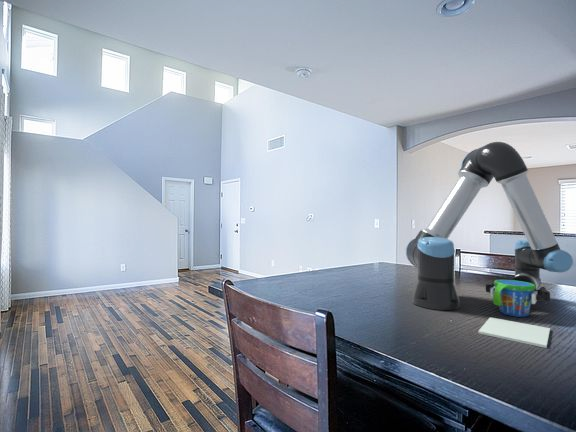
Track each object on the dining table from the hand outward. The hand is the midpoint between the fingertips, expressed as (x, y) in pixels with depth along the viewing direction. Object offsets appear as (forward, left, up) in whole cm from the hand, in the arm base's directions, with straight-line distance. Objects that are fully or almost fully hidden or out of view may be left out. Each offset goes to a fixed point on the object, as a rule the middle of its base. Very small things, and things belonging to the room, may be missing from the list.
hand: (511, 296), depth 98 cm
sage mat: (-5, -14, -6) cm, 16 cm away
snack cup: (+2, +4, -7) cm, 8 cm away
